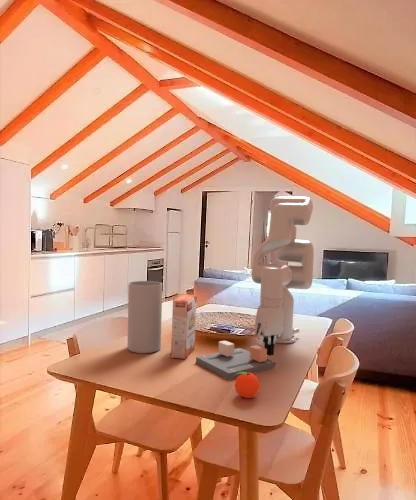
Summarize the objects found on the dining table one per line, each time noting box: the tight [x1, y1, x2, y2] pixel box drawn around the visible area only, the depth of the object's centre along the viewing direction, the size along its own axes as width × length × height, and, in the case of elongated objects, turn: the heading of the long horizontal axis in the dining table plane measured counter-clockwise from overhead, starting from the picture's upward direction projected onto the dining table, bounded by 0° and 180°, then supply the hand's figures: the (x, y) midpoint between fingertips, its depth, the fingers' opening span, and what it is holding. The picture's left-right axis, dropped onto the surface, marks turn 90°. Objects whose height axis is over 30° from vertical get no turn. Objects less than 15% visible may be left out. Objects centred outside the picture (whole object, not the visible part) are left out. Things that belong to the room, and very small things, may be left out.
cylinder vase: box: [126, 280, 163, 354], centre depth 155 cm, size 12×12×25 cm
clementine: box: [233, 372, 261, 399], centre depth 115 cm, size 8×7×7 cm
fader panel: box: [195, 347, 276, 381], centre depth 141 cm, size 20×18×2 cm
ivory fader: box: [217, 340, 235, 357], centre depth 144 cm, size 3×5×4 cm, turn 36°
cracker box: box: [170, 293, 198, 360], centre depth 151 cm, size 14×6×21 cm, turn 168°
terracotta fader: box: [249, 345, 268, 362], centre depth 140 cm, size 3×5×4 cm, turn 36°
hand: (268, 354), depth 143 cm, fingers closed
